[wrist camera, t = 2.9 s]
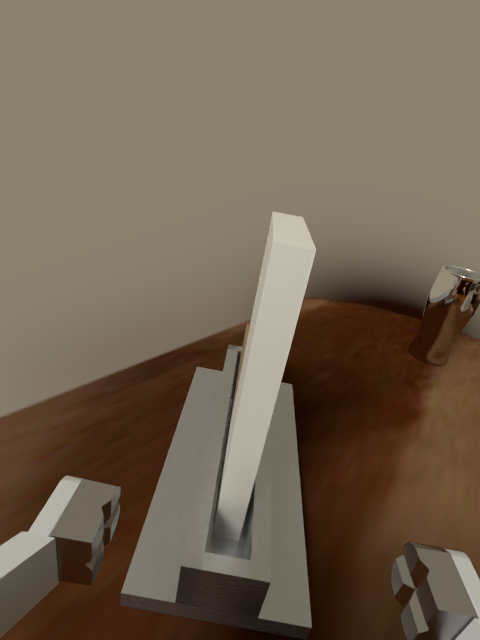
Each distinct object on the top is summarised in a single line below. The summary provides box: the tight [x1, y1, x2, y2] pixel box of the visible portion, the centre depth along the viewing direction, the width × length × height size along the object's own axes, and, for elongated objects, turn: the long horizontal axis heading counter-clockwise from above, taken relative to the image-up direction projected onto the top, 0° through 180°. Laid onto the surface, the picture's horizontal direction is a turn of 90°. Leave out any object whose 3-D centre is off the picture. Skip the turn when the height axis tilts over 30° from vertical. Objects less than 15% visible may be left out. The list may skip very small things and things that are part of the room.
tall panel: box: [212, 212, 316, 541], centre depth 25 cm, size 2×8×22 cm, turn 175°
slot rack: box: [121, 345, 312, 640], centre depth 33 cm, size 12×25×6 cm, turn 175°
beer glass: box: [409, 265, 480, 366], centre depth 57 cm, size 7×7×15 cm
